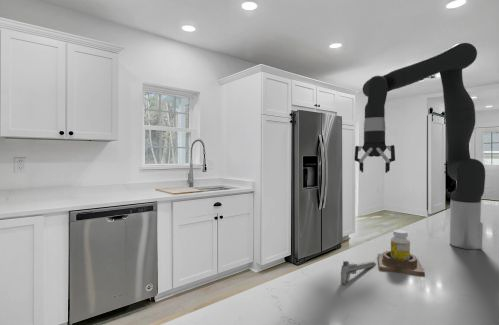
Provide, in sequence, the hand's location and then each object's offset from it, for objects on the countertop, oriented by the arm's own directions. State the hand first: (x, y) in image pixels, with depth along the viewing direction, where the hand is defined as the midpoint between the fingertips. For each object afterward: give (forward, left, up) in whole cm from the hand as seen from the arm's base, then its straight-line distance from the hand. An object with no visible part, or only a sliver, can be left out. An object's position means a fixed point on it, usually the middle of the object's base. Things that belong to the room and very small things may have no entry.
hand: (374, 172), depth 111 cm
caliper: (+5, +30, -29) cm, 42 cm away
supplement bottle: (-7, +19, -27) cm, 34 cm away
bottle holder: (-7, +19, -28) cm, 35 cm away
